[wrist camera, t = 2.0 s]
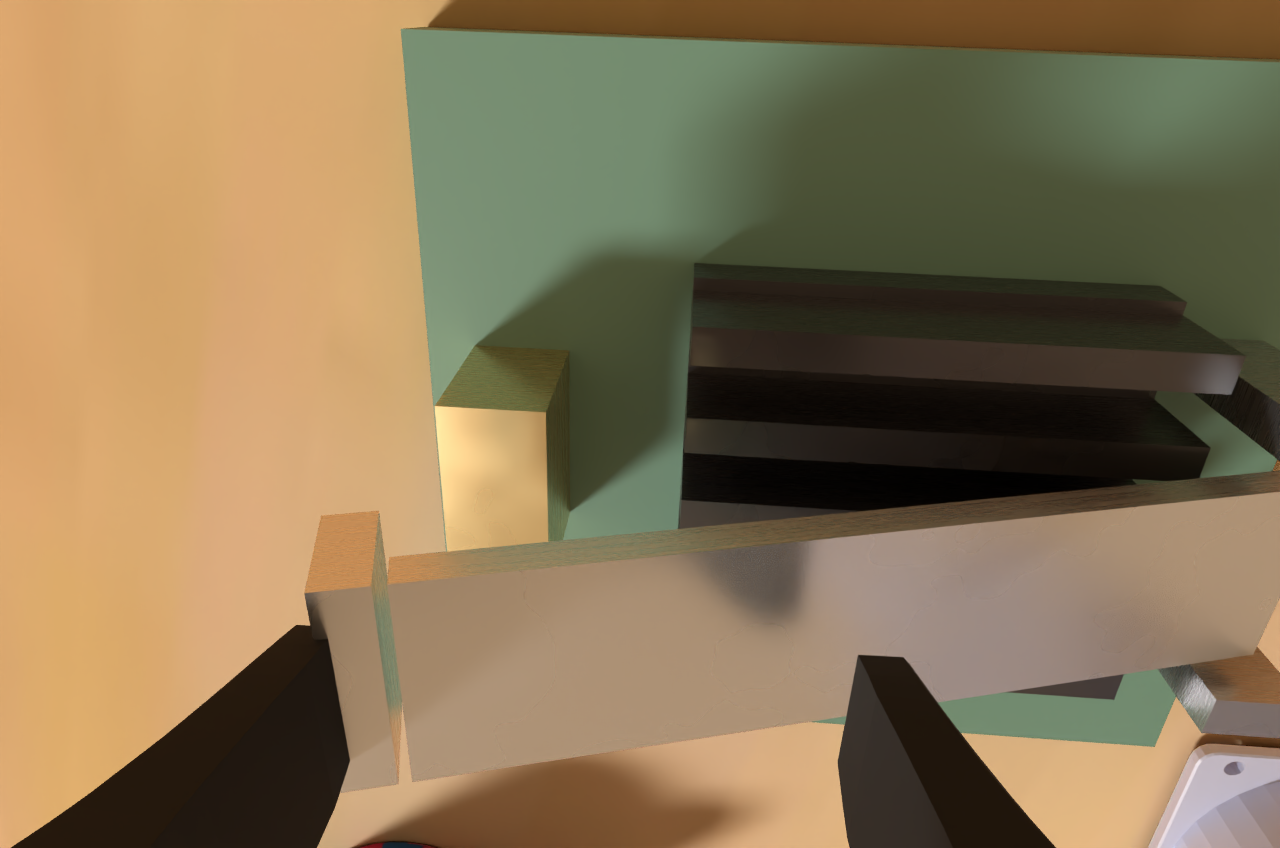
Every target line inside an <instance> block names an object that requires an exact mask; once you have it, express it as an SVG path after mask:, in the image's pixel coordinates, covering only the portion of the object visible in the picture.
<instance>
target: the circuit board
mask: <svg viewBox="0 0 1280 848" xmlns="http://www.w3.org/2000/svg"><path fill="white" fill-rule="evenodd" d="M401 36H402V47H403V59H404V70H405V82H406V94H407V105H408V117H409V128H410V140H411V151H412V163H413V174H414V186H415V198H416V209H417V221H418V232H419V244H420V255H421V267H422V279H423V290H424V302H425V313H426V325H427V336H428V348H429V359H430V371H431V383H432V394H433V406H434V417H435V429H436V440H437V452H438V463H439V475H440V487H441V498H442V510H443V521H444V509H443V497H442V486H441V474H440V462H439V451H438V439H437V427H436V416H435V405H436V403H437V402H438V400H439V399H440V397H441V396H442V394H443V393H444V391H445V390H446V388H447V387H448V385H449V384H450V382H451V381H452V379H453V378H454V376H455V375H456V373H457V372H458V370H459V369H460V367H461V366H462V364H463V363H464V361H465V359H466V358H467V356H468V355H469V353H470V352H471V350H472V349H473V347H474V346H475V345H478V346H497V347H515V348H534V349H552V350H569V397H570V514H569V518H568V522H567V526H566V530H565V534H564V538H563V540H571V539H582V538H592V537H602V536H612V535H623V534H633V533H643V532H653V531H664V530H674V529H678V515H679V499H680V483H681V467H682V451H683V435H684V420H685V404H686V388H687V372H688V356H689V340H690V324H691V308H692V292H693V276H694V263H707V264H728V265H748V266H768V267H789V268H809V269H829V270H849V271H870V272H890V273H910V274H931V275H951V276H971V277H992V278H1012V279H1032V280H1052V281H1073V282H1093V283H1113V284H1134V285H1154V286H1161V287H1163V288H1165V289H1166V290H1168V291H1170V292H1171V293H1173V294H1175V295H1176V296H1178V297H1180V298H1181V299H1183V300H1185V301H1186V302H1187V304H1186V307H1185V310H1184V313H1183V316H1185V317H1186V318H1188V319H1190V320H1191V321H1193V322H1194V323H1196V324H1197V325H1199V326H1201V327H1202V328H1204V329H1205V330H1207V331H1208V332H1210V333H1211V334H1213V335H1215V336H1216V337H1218V338H1221V339H1241V340H1260V341H1265V342H1267V343H1269V344H1270V345H1272V346H1274V347H1275V348H1277V349H1279V350H1280V59H1256V58H1229V57H1203V56H1177V55H1150V54H1124V53H1097V52H1071V51H1045V50H1018V49H992V48H965V47H939V46H913V45H886V44H860V43H833V42H807V41H781V40H754V39H728V38H701V37H675V36H649V35H622V34H596V33H569V32H543V31H517V30H490V29H464V28H437V27H419V28H406V29H401ZM1155 400H1156V401H1157V402H1158V403H1160V404H1161V405H1162V406H1163V407H1164V408H1165V409H1166V410H1168V411H1169V412H1170V413H1171V414H1172V415H1173V416H1175V417H1176V418H1177V419H1178V420H1179V421H1180V422H1182V423H1183V424H1184V425H1185V426H1186V427H1187V428H1188V429H1190V430H1191V431H1192V432H1193V433H1194V434H1195V435H1197V436H1198V437H1199V438H1200V439H1201V440H1202V441H1204V442H1205V443H1206V444H1207V445H1208V446H1209V447H1210V448H1211V449H1210V452H1209V454H1208V457H1207V459H1206V462H1205V465H1204V467H1203V470H1202V472H1201V475H1200V478H1208V477H1218V476H1229V475H1239V474H1249V473H1259V472H1270V471H1273V468H1274V466H1275V464H1276V461H1277V459H1276V458H1275V457H1274V456H1273V455H1271V454H1270V453H1269V452H1267V451H1266V450H1265V449H1264V448H1262V447H1261V446H1260V445H1259V444H1257V443H1256V442H1255V441H1253V440H1252V439H1251V438H1250V437H1248V436H1247V435H1246V434H1244V433H1243V432H1242V431H1241V430H1239V429H1238V428H1237V427H1236V426H1234V425H1233V424H1232V423H1230V422H1229V421H1228V420H1227V419H1225V418H1224V417H1223V416H1222V415H1220V414H1219V413H1218V412H1216V411H1215V410H1214V409H1213V408H1211V407H1210V406H1209V405H1208V404H1206V403H1205V402H1204V401H1202V400H1201V399H1200V398H1199V397H1197V396H1196V395H1195V394H1193V393H1187V392H1168V391H1157V393H1156V396H1155ZM1132 480H1133V481H1134V482H1135V483H1136V484H1146V483H1157V482H1167V481H1154V480H1138V479H1132ZM444 533H445V544H446V532H445V521H444ZM446 552H447V544H446ZM1175 698H1176V695H1175V694H1174V692H1173V691H1172V689H1171V688H1170V686H1169V685H1168V684H1167V682H1166V681H1165V679H1164V678H1163V676H1162V675H1161V673H1160V672H1159V671H1158V669H1155V670H1148V671H1141V672H1135V673H1128V674H1124V675H1123V678H1122V681H1121V683H1120V686H1119V689H1118V691H1117V694H1116V696H1115V699H1114V700H1109V699H1095V698H1080V697H1066V696H1052V695H1037V694H1023V693H1009V692H1003V693H996V694H990V695H983V696H977V697H970V698H963V699H957V700H950V701H944V702H938V704H939V705H940V706H941V708H942V709H943V710H944V712H945V713H946V714H947V716H948V717H949V718H950V720H951V721H952V722H953V724H954V725H955V726H956V728H957V729H958V730H959V732H960V733H971V734H984V735H998V736H1012V737H1026V738H1040V739H1054V740H1068V741H1082V742H1095V743H1109V744H1123V745H1137V746H1151V747H1155V744H1156V742H1157V740H1158V737H1159V735H1160V733H1161V730H1162V728H1163V726H1164V723H1165V721H1166V719H1167V716H1168V714H1169V712H1170V709H1171V707H1172V705H1173V702H1174V700H1175ZM845 721H846V716H845V717H838V718H831V719H825V720H818V721H812V722H818V723H832V724H845Z"/></svg>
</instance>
